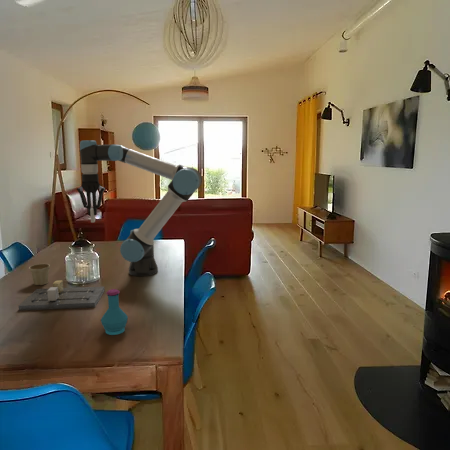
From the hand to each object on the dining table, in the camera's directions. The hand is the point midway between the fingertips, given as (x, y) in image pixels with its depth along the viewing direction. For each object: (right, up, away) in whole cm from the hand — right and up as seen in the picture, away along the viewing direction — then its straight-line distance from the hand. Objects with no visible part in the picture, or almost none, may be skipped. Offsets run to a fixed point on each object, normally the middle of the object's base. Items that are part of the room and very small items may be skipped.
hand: (93, 221), depth 194 cm
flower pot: (-25, -30, 0) cm, 40 cm away
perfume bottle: (+25, -40, -51) cm, 70 cm away
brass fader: (-9, -31, -18) cm, 37 cm away
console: (-5, -34, -22) cm, 41 cm away
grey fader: (-8, -33, -27) cm, 43 cm away
